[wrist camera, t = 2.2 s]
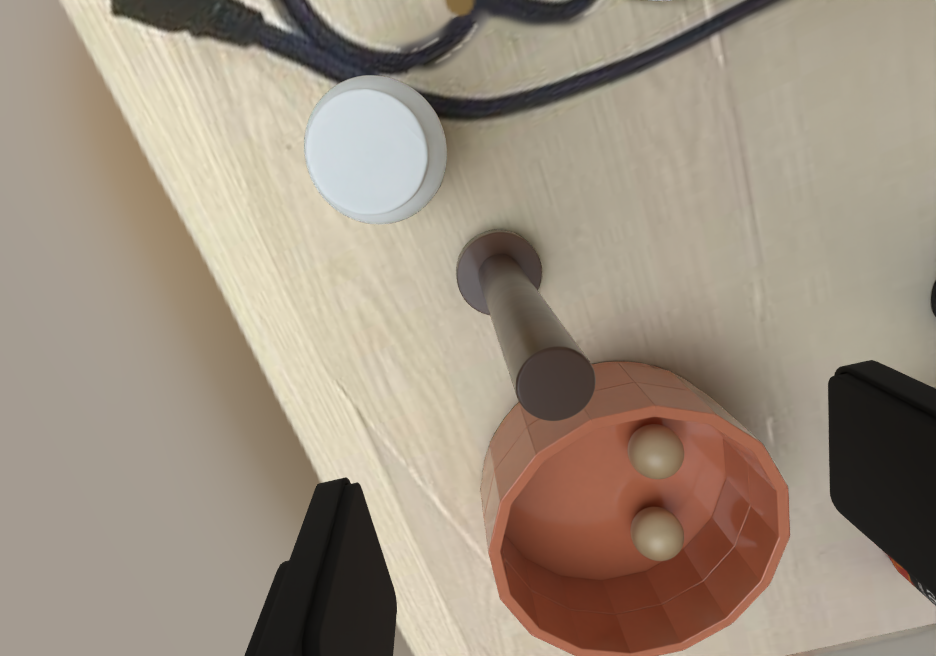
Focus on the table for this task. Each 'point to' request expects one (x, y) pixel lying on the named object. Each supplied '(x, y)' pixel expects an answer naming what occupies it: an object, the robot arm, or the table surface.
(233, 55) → the table surface
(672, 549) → the bead
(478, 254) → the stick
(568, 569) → the bowl
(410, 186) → the supplement bottle
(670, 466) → the bead
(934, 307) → the drinking cup
